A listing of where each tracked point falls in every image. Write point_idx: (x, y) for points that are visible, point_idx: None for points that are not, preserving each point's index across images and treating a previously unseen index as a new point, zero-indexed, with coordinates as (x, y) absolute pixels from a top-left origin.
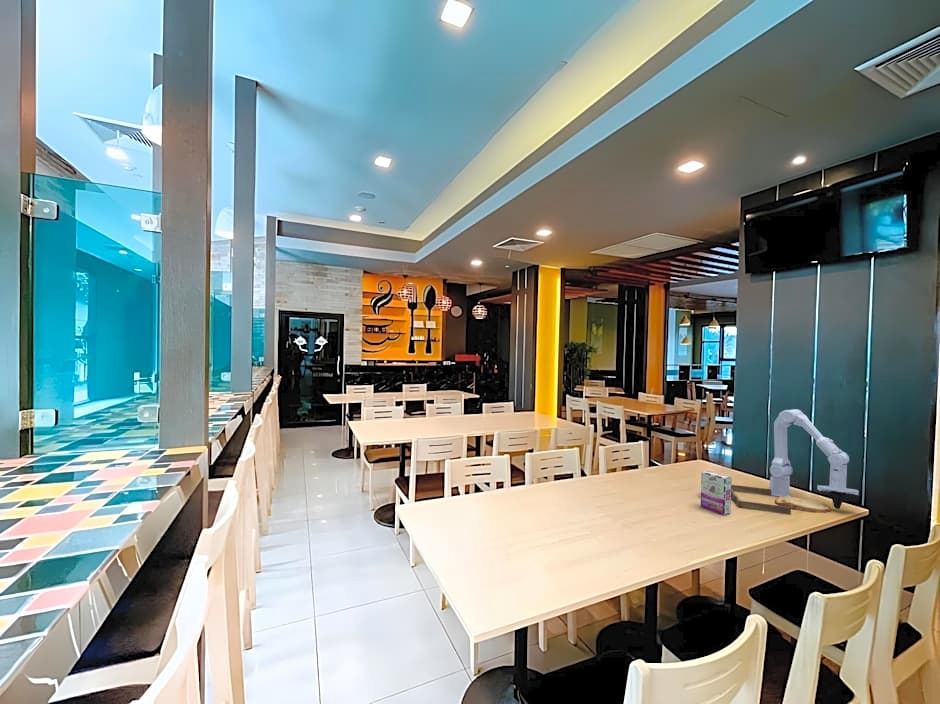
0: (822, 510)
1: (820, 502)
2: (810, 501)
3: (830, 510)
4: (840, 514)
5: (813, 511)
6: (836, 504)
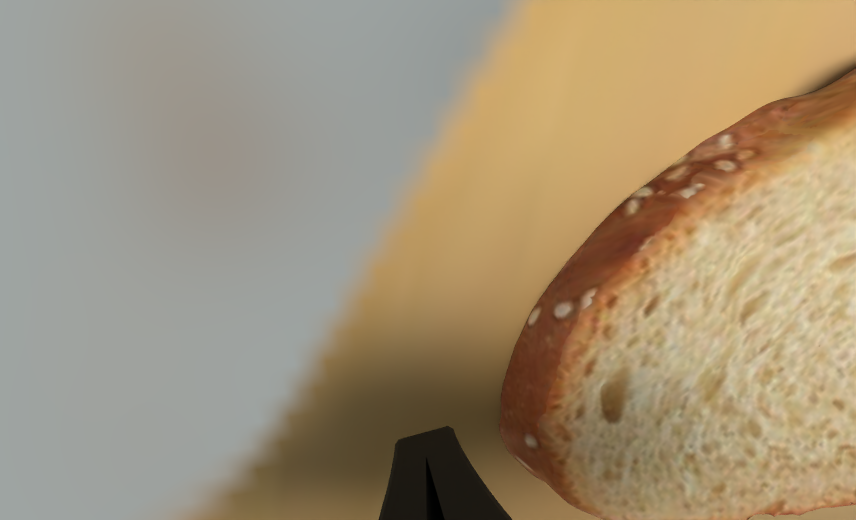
0: (702, 179)
1: (661, 509)
2: (804, 461)
3: (530, 342)
4: (399, 278)
5: (841, 79)
6: (468, 477)
